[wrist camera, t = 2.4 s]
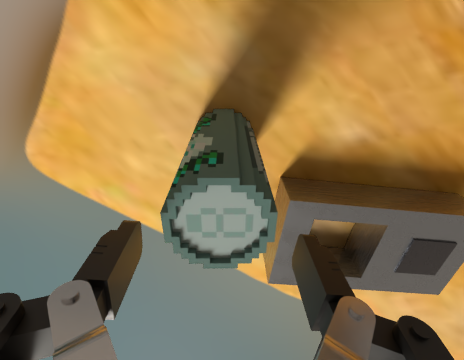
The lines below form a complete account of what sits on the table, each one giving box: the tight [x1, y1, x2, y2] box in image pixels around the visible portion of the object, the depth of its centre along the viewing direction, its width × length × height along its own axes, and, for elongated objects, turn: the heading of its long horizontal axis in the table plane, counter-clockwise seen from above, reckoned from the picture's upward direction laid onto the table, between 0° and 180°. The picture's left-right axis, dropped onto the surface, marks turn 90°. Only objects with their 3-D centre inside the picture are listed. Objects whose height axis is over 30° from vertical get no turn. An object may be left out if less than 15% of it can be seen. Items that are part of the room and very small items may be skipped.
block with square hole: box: [263, 177, 464, 295], centre depth 30 cm, size 12×22×5 cm, turn 84°
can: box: [160, 109, 278, 268], centre depth 20 cm, size 6×6×15 cm
